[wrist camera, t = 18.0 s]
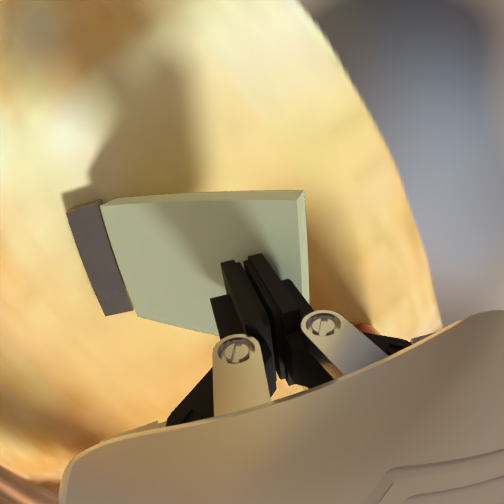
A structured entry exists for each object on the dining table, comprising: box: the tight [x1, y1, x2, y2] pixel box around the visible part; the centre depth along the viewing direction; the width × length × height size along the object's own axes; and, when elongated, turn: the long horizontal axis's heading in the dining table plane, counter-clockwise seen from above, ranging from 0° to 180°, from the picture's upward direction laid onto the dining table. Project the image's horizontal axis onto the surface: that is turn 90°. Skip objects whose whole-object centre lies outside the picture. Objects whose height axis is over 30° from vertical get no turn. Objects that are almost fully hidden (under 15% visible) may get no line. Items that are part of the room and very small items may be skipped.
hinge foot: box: [66, 200, 134, 316], centre depth 16 cm, size 7×2×1 cm, turn 8°
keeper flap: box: [100, 190, 309, 336], centre depth 14 cm, size 7×1×10 cm
